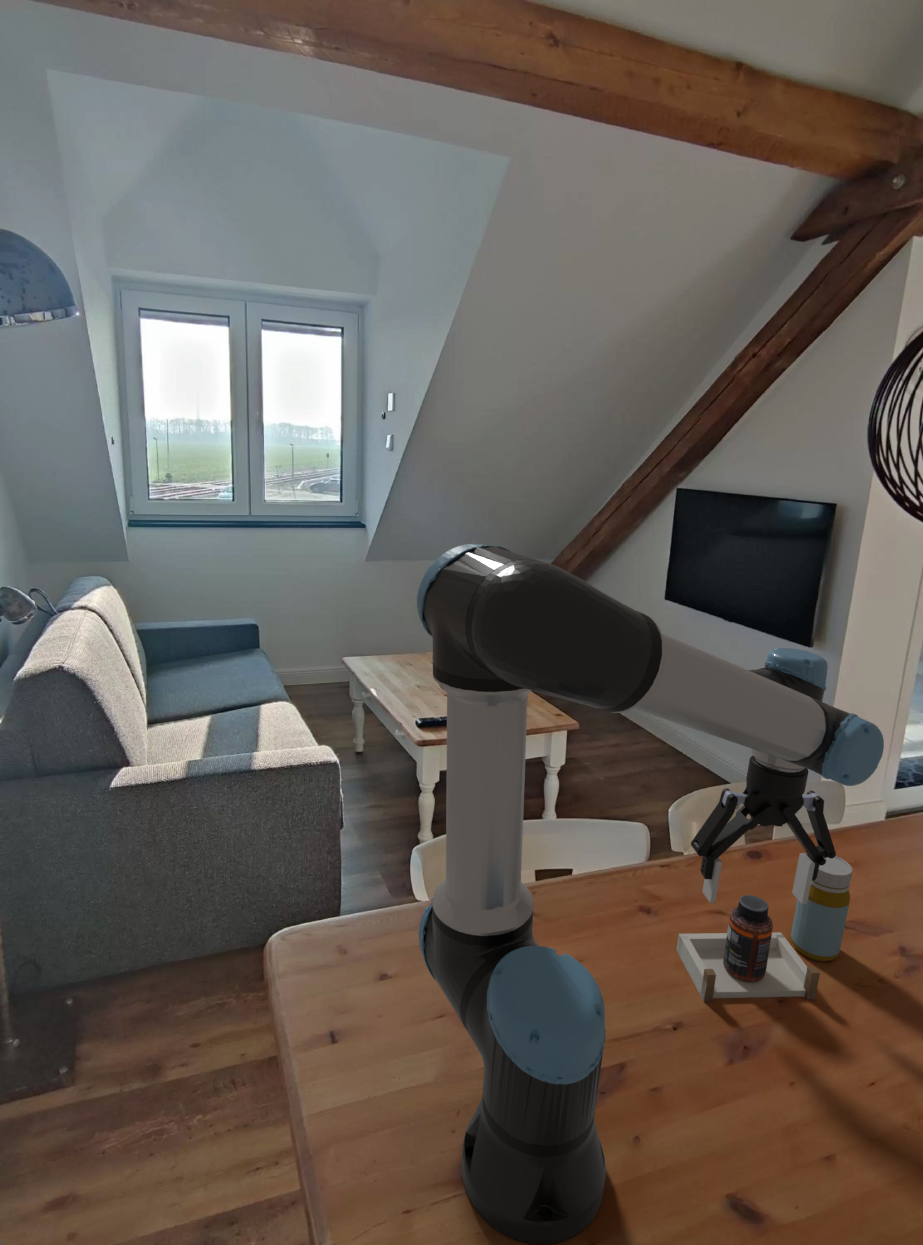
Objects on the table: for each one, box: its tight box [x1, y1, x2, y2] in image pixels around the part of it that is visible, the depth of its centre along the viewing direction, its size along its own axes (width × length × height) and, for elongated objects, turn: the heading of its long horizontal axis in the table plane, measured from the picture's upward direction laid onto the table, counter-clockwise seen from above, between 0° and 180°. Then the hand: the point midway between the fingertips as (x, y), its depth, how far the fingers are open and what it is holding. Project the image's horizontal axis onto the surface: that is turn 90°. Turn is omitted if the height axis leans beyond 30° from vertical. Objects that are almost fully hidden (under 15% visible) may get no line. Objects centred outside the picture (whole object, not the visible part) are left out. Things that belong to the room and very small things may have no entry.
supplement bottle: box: [723, 894, 774, 982], centre depth 107 cm, size 6×6×11 cm
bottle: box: [790, 855, 853, 962], centre depth 114 cm, size 7×7×15 cm
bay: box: [676, 932, 821, 1003], centre depth 109 cm, size 11×16×4 cm, turn 95°
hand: (754, 898), depth 106 cm, fingers open, 13 cm apart
